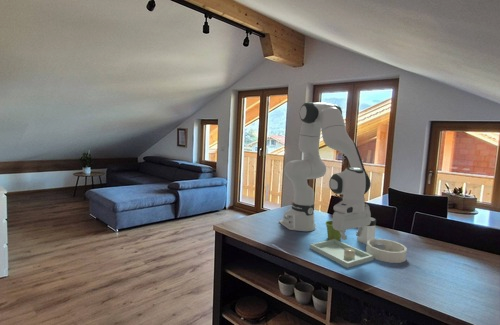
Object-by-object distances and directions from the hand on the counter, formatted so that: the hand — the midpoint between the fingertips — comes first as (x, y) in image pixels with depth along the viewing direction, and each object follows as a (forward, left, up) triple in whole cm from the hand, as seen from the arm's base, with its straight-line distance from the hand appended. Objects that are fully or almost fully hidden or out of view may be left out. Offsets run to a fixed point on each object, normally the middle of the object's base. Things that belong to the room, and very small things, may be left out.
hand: (351, 237), depth 124 cm
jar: (-12, +25, -10) cm, 29 cm away
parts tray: (-6, 0, -10) cm, 11 cm away
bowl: (+4, +18, -10) cm, 21 cm away
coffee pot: (-41, +47, -10) cm, 63 cm away
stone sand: (-1, 0, -9) cm, 9 cm away
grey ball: (+1, +18, -9) cm, 20 cm away
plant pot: (-21, +12, -10) cm, 26 cm away
